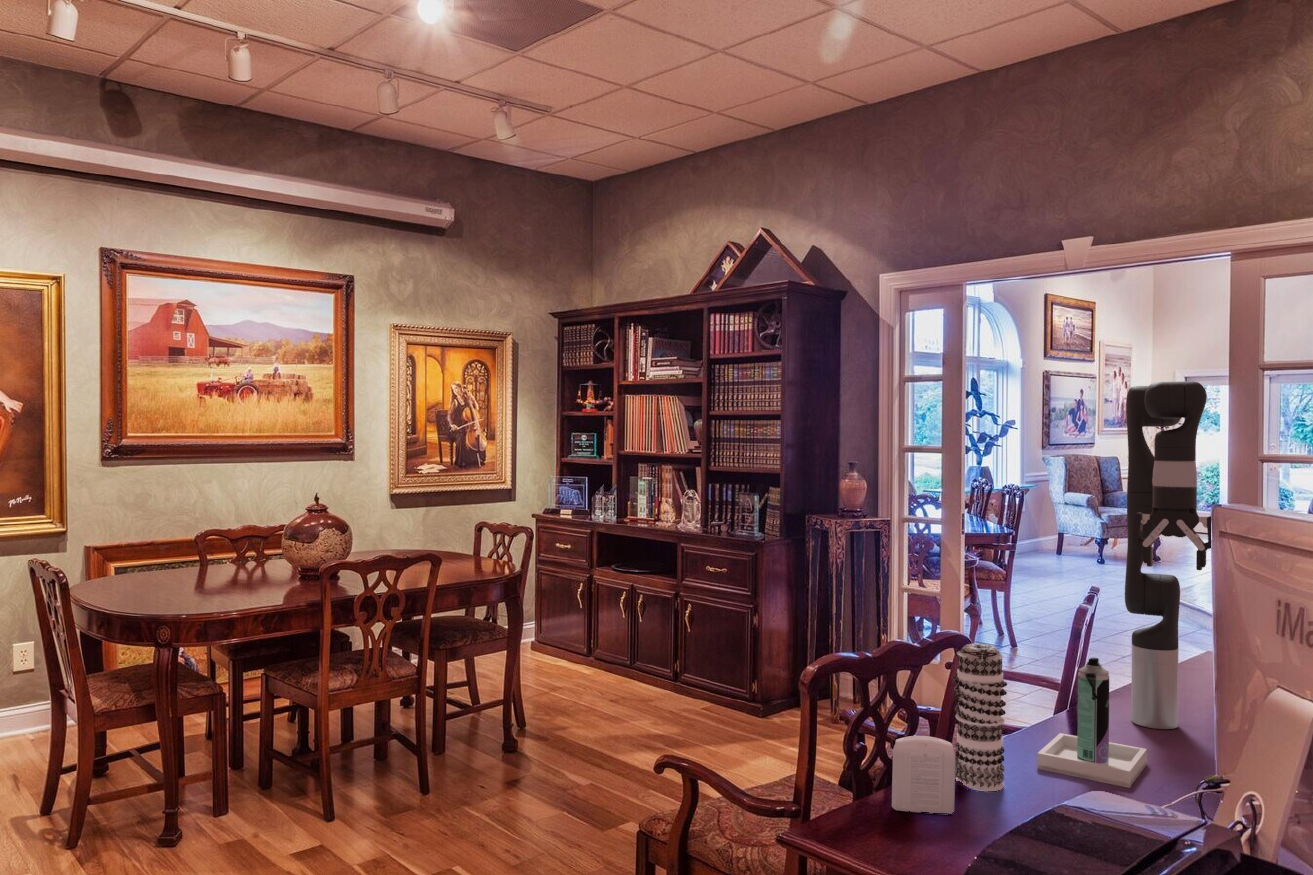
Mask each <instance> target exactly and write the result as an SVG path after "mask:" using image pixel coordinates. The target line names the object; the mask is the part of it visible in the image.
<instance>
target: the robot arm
mask: <svg viewBox="0 0 1313 875" xmlns="http://www.w3.org/2000/svg"><path fill="white" fill-rule="evenodd" d="M1207 397H1208V395H1207V391H1206V388H1205V387H1204V386H1203V385H1202V383H1200V382H1199V381H1193V380H1192V381H1189V380H1187V381H1156V382H1152V383H1151V384H1149V385H1133V386H1131V387H1130V388H1129V389H1128V391H1127V395H1126V403H1125V406H1126V407H1125V408H1126V410H1125V411H1126V431H1127V434H1126V435H1127V448H1128V449H1127V451H1128V452H1127V454H1128V456H1127V457H1128V462H1127V464H1128V465H1127V467H1128V468H1127V485H1126V486H1127V487H1126V519H1127V520H1126V521H1127V522H1126V523H1127V525H1126V526H1127V552H1126V566H1125V567H1126V568H1125V579H1124V580H1125V581H1124V582H1125V583H1124V605H1125V608H1126V610H1127V612H1128V613H1130V614H1134V615H1145V616H1155V617H1156V616H1157V617H1162V619H1161V621H1159V622H1158V623H1156V624H1153V625H1151V626H1147V627H1144V628H1139V629H1136V630H1134V631H1132V632H1131V633H1132V634H1131V692H1130V693H1131V695H1130V696H1131V702H1130V703H1131V704H1130V706H1131V707H1130V708H1131V709H1130V710H1131V711H1130V713H1131V715H1130V716H1131V717H1130V718H1131V720H1130V721H1131V722H1132V723H1134V724H1135V725H1138V726H1142V727H1145V728H1149V729H1155V730H1158V729H1159V730H1173V729H1174V730H1175V729H1176V728H1178V727H1179V617H1180V616H1179V615H1180V605H1181V604H1180V602H1181V585H1180V581H1179V578H1177V576H1175V575H1173V574H1162V573H1147V572H1142V566H1143V563H1144V564H1146V567H1148V568H1149V567H1151V568H1152V567H1153V565H1154V547H1153V545H1154V544H1155V542H1156V541H1157V539H1158V538H1160V536H1164V537H1166V538H1170V537H1176V538H1185V537H1187V538H1188V539H1189V540H1190V541H1191V542H1192V543H1193V545H1194V546H1195V547H1196V548H1197V550H1196V561H1195V562H1196V566H1195V567H1196V571H1203V568H1205V567H1206V565H1207V551H1208V550H1211V549H1212V548H1211V516H1212V515H1209V516H1199V515H1198V512H1197V510H1198V509H1197V508H1198V507H1197V503H1198V502H1197V501H1198V498H1197V496H1198V494H1197V493H1198V491H1197V490H1198V476H1197V475H1198V472H1197V464H1196V463H1197V462H1196V447H1197V446H1196V444H1197V443H1196V442H1197V441H1196V440H1197V435H1198V430H1199V425H1200V422H1201V419H1202V416H1203V414H1204V410H1205V407H1206V405H1207V399H1208V398H1207ZM1182 418H1183V419H1184V421H1183V422H1182V424H1181V425H1180V426H1178V427H1176V428H1171V429H1166V430H1165V429H1164V430H1161V431H1159V432H1156V434H1155V435H1154V454H1153V452H1152V451H1151V449H1150V446H1149V445H1148V443H1147V441H1146V438H1145V435H1144V431H1143V430H1144V427H1146V428H1147V427H1152V428H1153V427H1154V428H1155V427H1156V428H1160V427H1161V428H1164V427H1165V428H1167V427H1173V426H1175V425H1177V424H1178V423H1180V421H1181V419H1182ZM1199 523H1201V524H1202V526H1203V528H1205V529H1207V542H1204V541H1203V539H1202V538H1201V537H1200V535H1199V534H1198V533H1197V531H1195V528H1196V527H1197V526H1198V524H1199Z"/></svg>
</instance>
